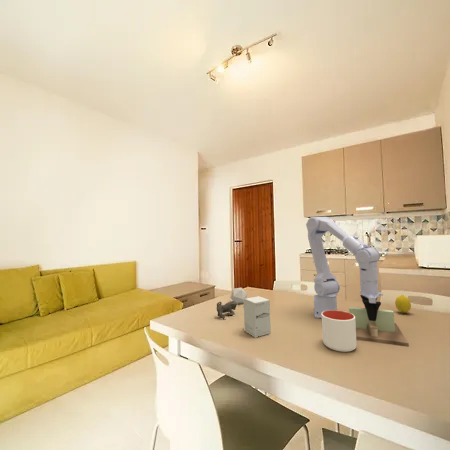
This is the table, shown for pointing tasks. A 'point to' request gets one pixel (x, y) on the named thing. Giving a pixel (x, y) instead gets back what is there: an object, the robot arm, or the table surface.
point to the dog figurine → (226, 308)
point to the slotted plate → (382, 321)
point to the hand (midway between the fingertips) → (371, 317)
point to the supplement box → (257, 316)
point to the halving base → (381, 335)
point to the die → (238, 295)
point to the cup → (339, 330)
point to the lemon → (403, 304)
